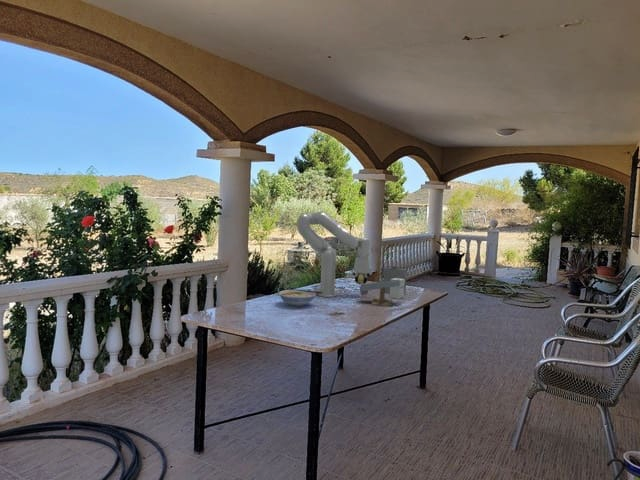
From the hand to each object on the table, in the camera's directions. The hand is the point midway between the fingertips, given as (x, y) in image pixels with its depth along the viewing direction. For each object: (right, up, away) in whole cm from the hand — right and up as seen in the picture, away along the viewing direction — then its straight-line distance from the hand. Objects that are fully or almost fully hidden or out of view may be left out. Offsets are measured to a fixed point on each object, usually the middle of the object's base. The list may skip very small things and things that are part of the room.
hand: (360, 282), depth 310 cm
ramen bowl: (-41, -11, -31) cm, 52 cm away
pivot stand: (+12, -11, -17) cm, 24 cm away
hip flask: (+25, -9, +17) cm, 32 cm away
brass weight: (0, -1, 0) cm, 1 cm away
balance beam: (+11, -4, -18) cm, 21 cm away
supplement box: (+25, -10, +2) cm, 27 cm away
